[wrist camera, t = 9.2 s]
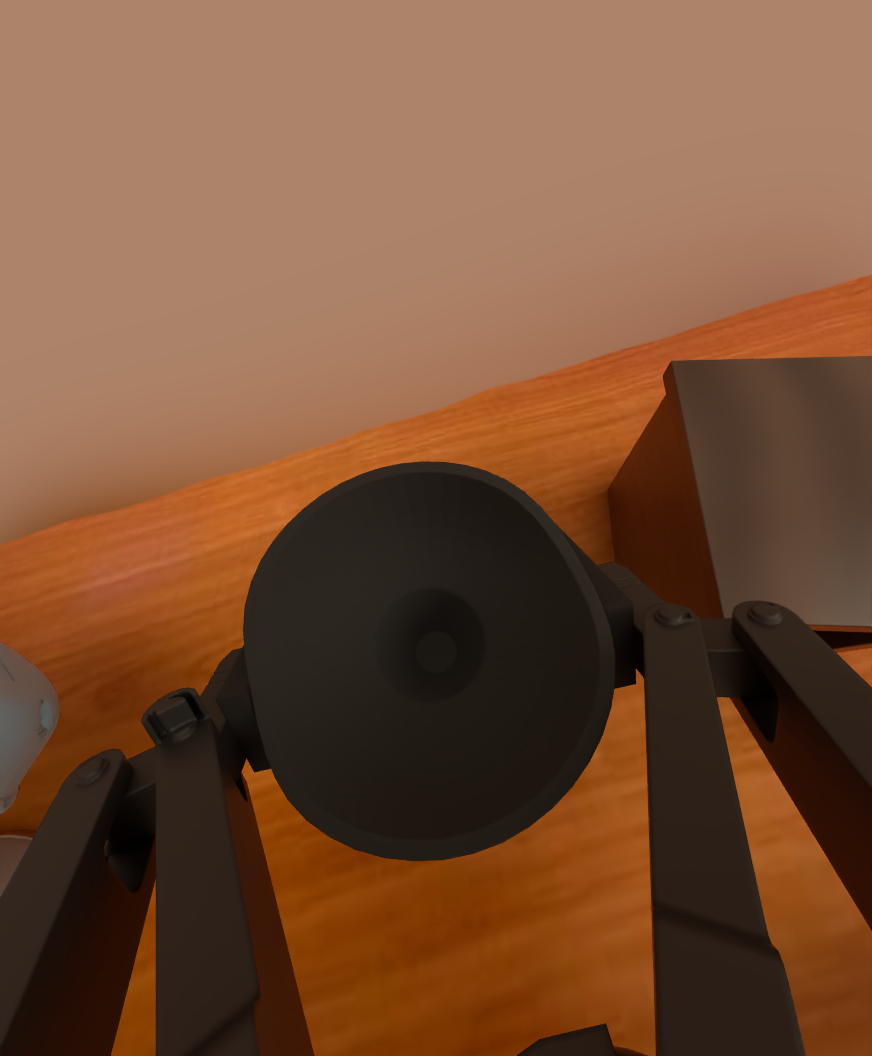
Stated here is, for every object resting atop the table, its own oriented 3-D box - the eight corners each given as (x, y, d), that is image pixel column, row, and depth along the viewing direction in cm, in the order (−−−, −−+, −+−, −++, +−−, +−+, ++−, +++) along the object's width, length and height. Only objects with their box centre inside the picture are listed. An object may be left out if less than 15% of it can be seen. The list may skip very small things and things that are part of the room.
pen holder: (567, 597, 20) (647, 510, 11) (517, 815, 17) (569, 949, 8) (387, 543, 22) (326, 429, 13) (311, 731, 19) (158, 759, 10)
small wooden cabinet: (618, 656, 30) (724, 622, 17) (600, 484, 36) (670, 360, 23) (815, 665, 29) (1085, 634, 16) (765, 484, 34) (940, 353, 21)
